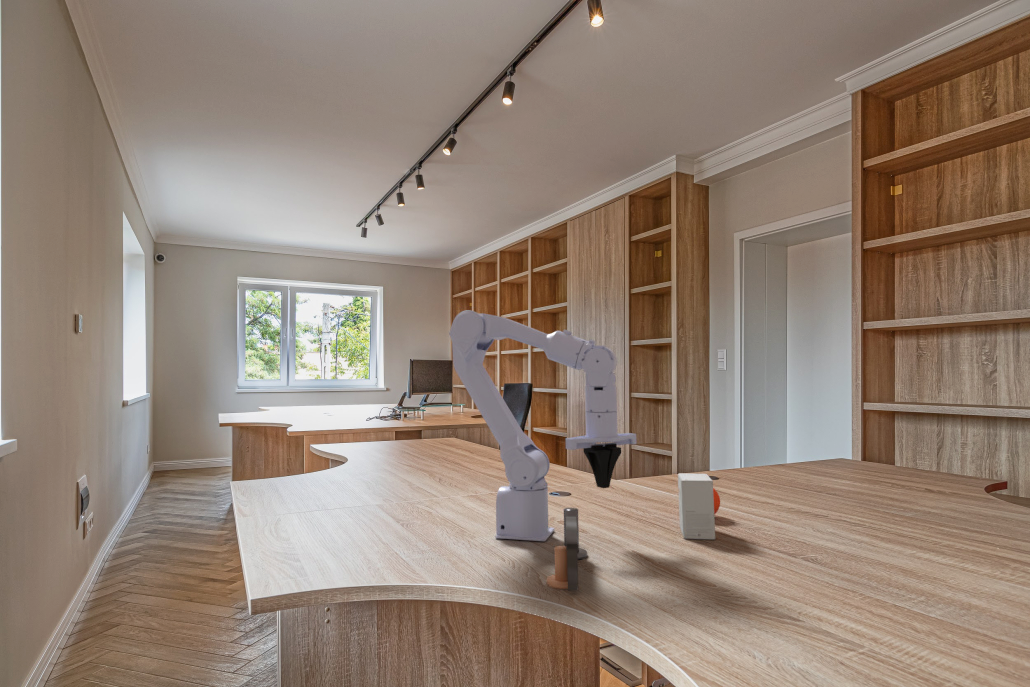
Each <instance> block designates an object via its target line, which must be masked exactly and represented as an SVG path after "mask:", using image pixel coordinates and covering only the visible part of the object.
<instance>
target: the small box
mask: <svg viewBox="0 0 1030 687" xmlns="http://www.w3.org/2000/svg"><path fill="white" fill-rule="evenodd" d="M677 484H678V485H677V487H678V489H677V490H678V514H679V528H680V531H681V534H682V536H683V539H685V540H716V523H715V522H716V521H715V515H714V495H713V488H714V480H713V479H712V478H711V477H710V476H709V475H708V474H707V473H687V472H686V473H683V472H681V473H680V472H679V473H678V474H677Z"/></svg>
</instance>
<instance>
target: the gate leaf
mask: <svg viewBox="0 0 1030 687" xmlns="http://www.w3.org/2000/svg"><path fill="white" fill-rule="evenodd" d="M566 550H567V572H568V589H567V591H568V592H570V591H571V592H573V591H574V592H578V591H579V566H578V562H579V560H578V556H577V550H578V537H577V523H576V517H566Z"/></svg>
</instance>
